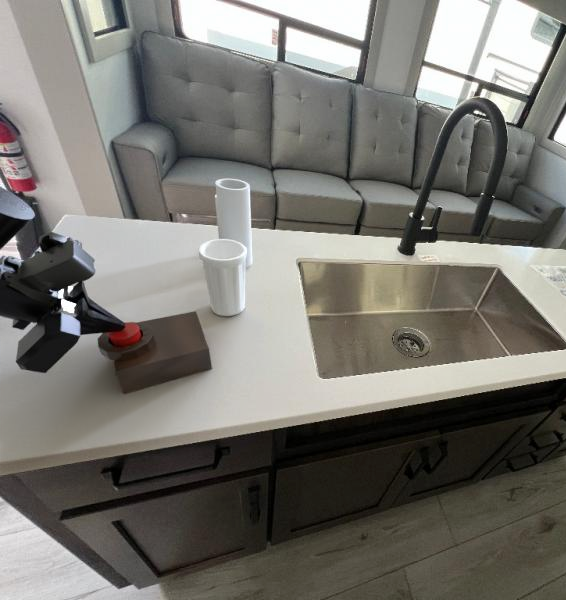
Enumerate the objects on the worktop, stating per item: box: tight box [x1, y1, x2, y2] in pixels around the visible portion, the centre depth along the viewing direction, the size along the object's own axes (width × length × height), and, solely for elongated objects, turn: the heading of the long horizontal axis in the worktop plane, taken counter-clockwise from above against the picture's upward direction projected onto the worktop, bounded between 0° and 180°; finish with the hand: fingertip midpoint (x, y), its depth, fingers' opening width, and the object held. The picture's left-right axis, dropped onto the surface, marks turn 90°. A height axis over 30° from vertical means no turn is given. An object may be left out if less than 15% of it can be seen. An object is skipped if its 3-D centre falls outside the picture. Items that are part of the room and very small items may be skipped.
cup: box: [198, 238, 247, 317], centre depth 65 cm, size 8×8×14 cm
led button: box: [108, 321, 141, 347], centre depth 50 cm, size 4×4×2 cm
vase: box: [214, 177, 253, 269], centre depth 78 cm, size 11×7×20 cm, turn 24°
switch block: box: [97, 311, 213, 395], centre depth 54 cm, size 13×10×7 cm
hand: (123, 327), depth 49 cm, fingers closed
